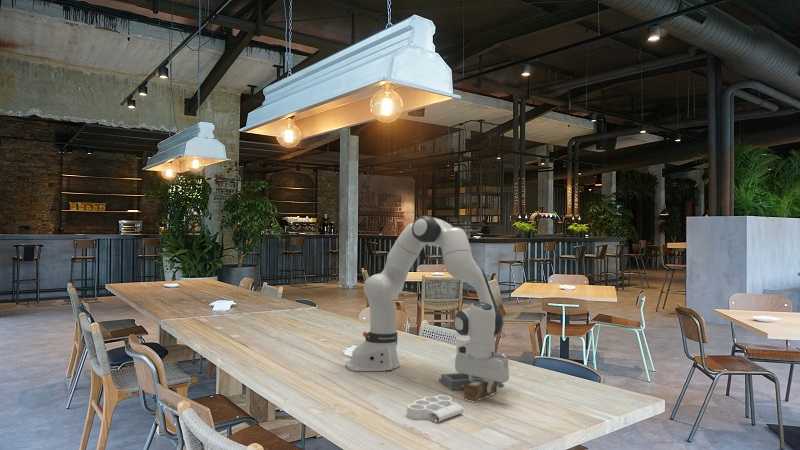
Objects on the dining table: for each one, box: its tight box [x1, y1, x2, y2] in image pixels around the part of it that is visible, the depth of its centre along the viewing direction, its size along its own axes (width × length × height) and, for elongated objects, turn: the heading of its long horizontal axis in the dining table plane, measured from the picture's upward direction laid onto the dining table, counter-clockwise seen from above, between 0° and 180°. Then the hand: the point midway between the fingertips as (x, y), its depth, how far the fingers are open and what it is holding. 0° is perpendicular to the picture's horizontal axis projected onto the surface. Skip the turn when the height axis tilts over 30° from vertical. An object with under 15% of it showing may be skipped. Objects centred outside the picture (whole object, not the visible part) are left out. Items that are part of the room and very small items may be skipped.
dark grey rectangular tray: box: [438, 372, 505, 391], centre depth 190 cm, size 21×12×3 cm, turn 108°
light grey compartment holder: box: [406, 394, 465, 423], centre depth 158 cm, size 3×18×15 cm
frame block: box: [463, 378, 498, 403], centre depth 176 cm, size 14×4×5 cm, turn 138°
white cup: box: [455, 336, 470, 354], centre depth 225 cm, size 8×8×10 cm
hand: (480, 390), depth 176 cm, fingers closed on frame block, 4 cm apart
